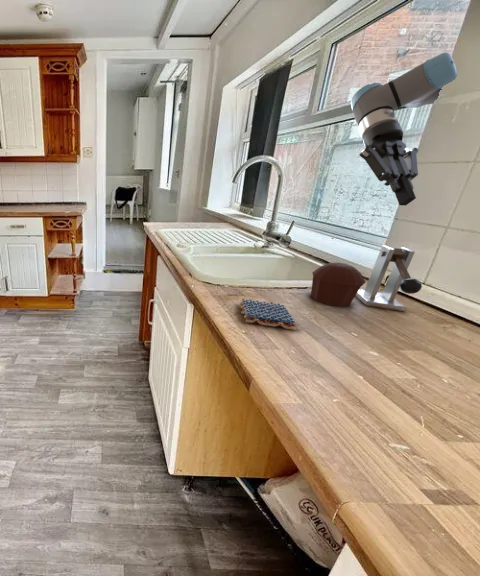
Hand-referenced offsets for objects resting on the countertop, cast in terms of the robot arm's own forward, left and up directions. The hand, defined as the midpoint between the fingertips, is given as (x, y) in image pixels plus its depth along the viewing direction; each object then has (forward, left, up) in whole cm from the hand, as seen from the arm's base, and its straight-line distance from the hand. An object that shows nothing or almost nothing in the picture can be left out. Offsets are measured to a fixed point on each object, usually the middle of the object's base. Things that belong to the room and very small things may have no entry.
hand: (407, 201), depth 73 cm
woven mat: (+28, +24, -26) cm, 45 cm away
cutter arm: (-2, +3, -17) cm, 18 cm away
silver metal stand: (-2, -1, -26) cm, 26 cm away
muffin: (+10, +4, -26) cm, 28 cm away
